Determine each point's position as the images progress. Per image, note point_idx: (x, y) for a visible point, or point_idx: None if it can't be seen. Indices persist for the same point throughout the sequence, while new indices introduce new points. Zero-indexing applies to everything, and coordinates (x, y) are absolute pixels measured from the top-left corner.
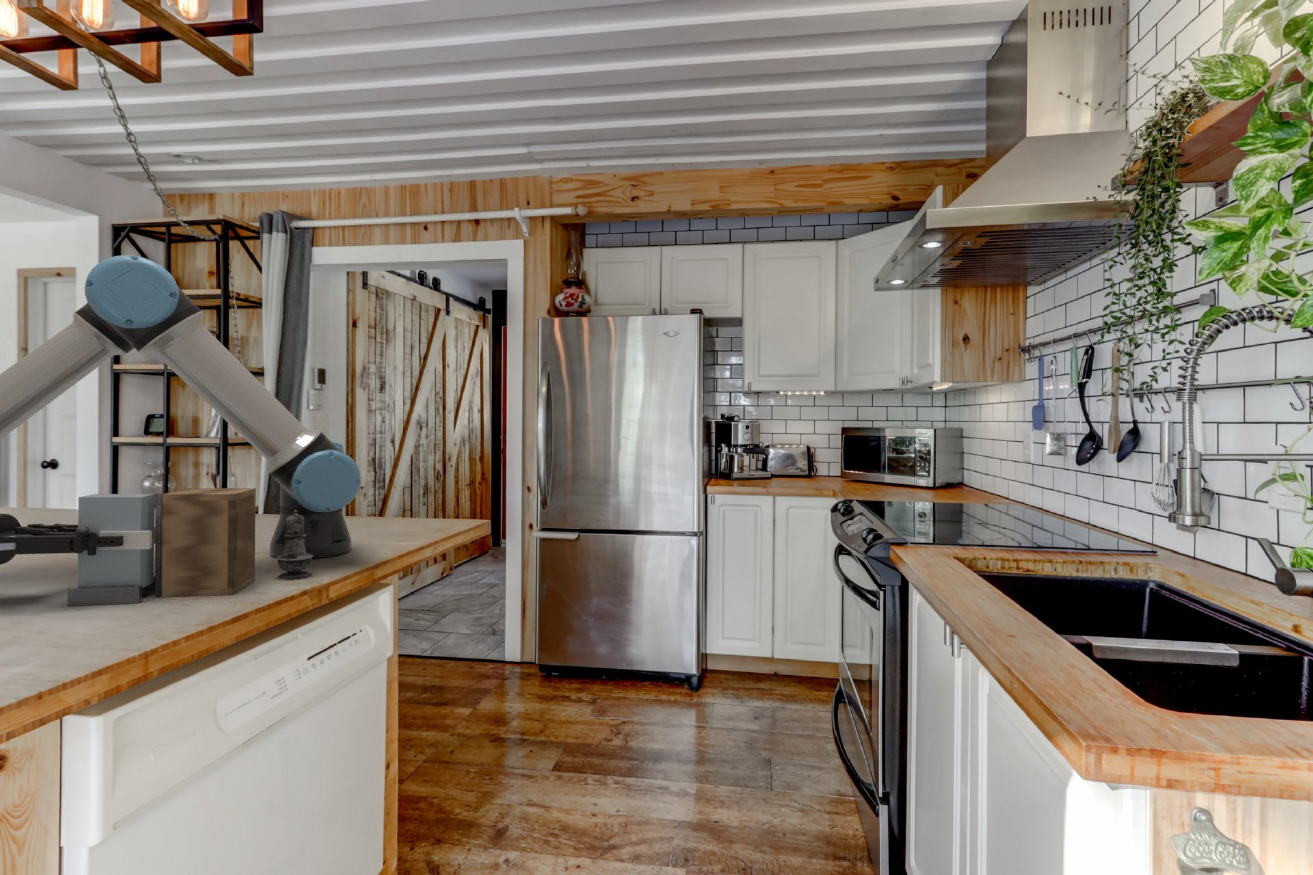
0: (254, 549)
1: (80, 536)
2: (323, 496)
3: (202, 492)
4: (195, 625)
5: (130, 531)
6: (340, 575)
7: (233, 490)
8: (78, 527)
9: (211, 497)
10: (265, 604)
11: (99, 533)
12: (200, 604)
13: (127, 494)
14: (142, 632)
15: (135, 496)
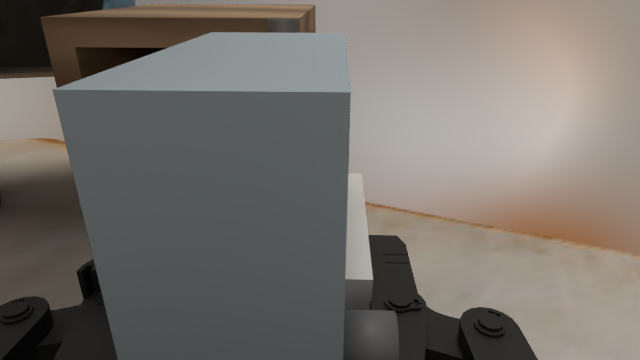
0: None
1: (501, 313)
2: None
3: (253, 10)
4: (547, 253)
5: (359, 204)
6: None
7: (206, 6)
8: (340, 355)
9: (311, 19)
10: (401, 212)
11: (372, 285)
12: None
13: (185, 47)
14: (621, 303)
15: (312, 37)
